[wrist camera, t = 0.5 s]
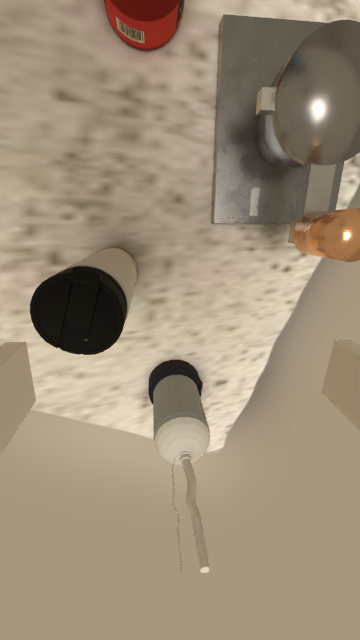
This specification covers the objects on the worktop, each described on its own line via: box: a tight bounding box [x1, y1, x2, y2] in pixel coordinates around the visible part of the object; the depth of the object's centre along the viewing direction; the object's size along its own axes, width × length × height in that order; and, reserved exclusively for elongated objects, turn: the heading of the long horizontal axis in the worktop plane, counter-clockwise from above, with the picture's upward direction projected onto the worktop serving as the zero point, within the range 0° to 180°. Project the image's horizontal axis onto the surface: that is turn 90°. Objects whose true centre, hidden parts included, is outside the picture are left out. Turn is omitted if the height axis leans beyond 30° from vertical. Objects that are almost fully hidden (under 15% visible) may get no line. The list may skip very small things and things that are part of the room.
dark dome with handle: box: [256, 20, 360, 262], centre depth 23 cm, size 18×12×9 cm
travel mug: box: [30, 247, 138, 355], centre depth 27 cm, size 6×7×20 cm
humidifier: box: [149, 360, 210, 575], centre depth 31 cm, size 8×8×25 cm
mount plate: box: [212, 15, 344, 223], centre depth 29 cm, size 20×16×8 cm
